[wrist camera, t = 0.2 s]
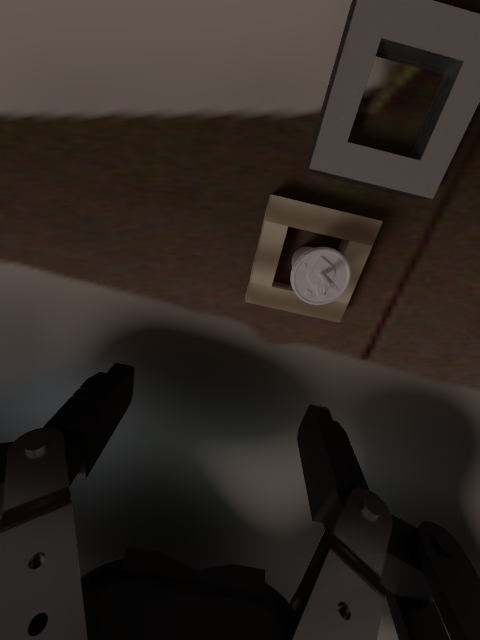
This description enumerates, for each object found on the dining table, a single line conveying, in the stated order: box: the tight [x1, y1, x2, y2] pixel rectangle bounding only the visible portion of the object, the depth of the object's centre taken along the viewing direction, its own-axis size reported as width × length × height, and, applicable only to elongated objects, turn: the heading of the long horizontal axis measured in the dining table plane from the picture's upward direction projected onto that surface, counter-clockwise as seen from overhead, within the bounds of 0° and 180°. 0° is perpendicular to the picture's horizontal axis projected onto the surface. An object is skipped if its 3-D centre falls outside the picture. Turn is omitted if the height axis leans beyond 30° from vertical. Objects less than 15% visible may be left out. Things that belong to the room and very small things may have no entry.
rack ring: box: [304, 0, 480, 199], centre depth 28 cm, size 15×15×3 cm
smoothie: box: [290, 247, 351, 305], centre depth 30 cm, size 6×6×14 cm
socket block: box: [245, 194, 383, 323], centre depth 35 cm, size 14×14×3 cm
